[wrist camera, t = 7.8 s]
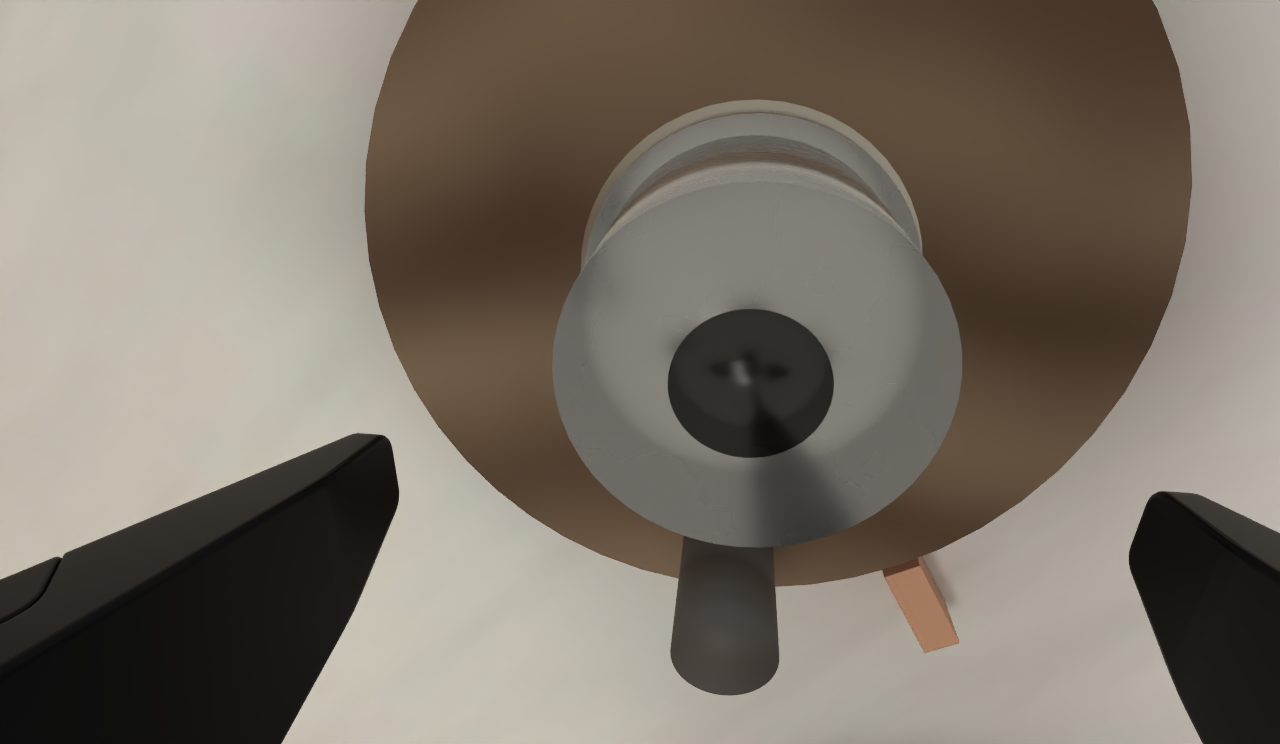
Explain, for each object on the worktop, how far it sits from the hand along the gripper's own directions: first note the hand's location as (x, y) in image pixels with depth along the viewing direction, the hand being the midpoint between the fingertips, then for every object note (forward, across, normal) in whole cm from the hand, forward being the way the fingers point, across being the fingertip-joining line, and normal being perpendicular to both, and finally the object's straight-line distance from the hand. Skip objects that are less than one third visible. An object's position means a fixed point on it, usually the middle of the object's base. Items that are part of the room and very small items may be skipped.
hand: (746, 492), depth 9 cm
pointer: (+10, -6, +10) cm, 15 cm away
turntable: (+10, 0, 0) cm, 11 cm away
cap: (+9, 0, 0) cm, 9 cm away
